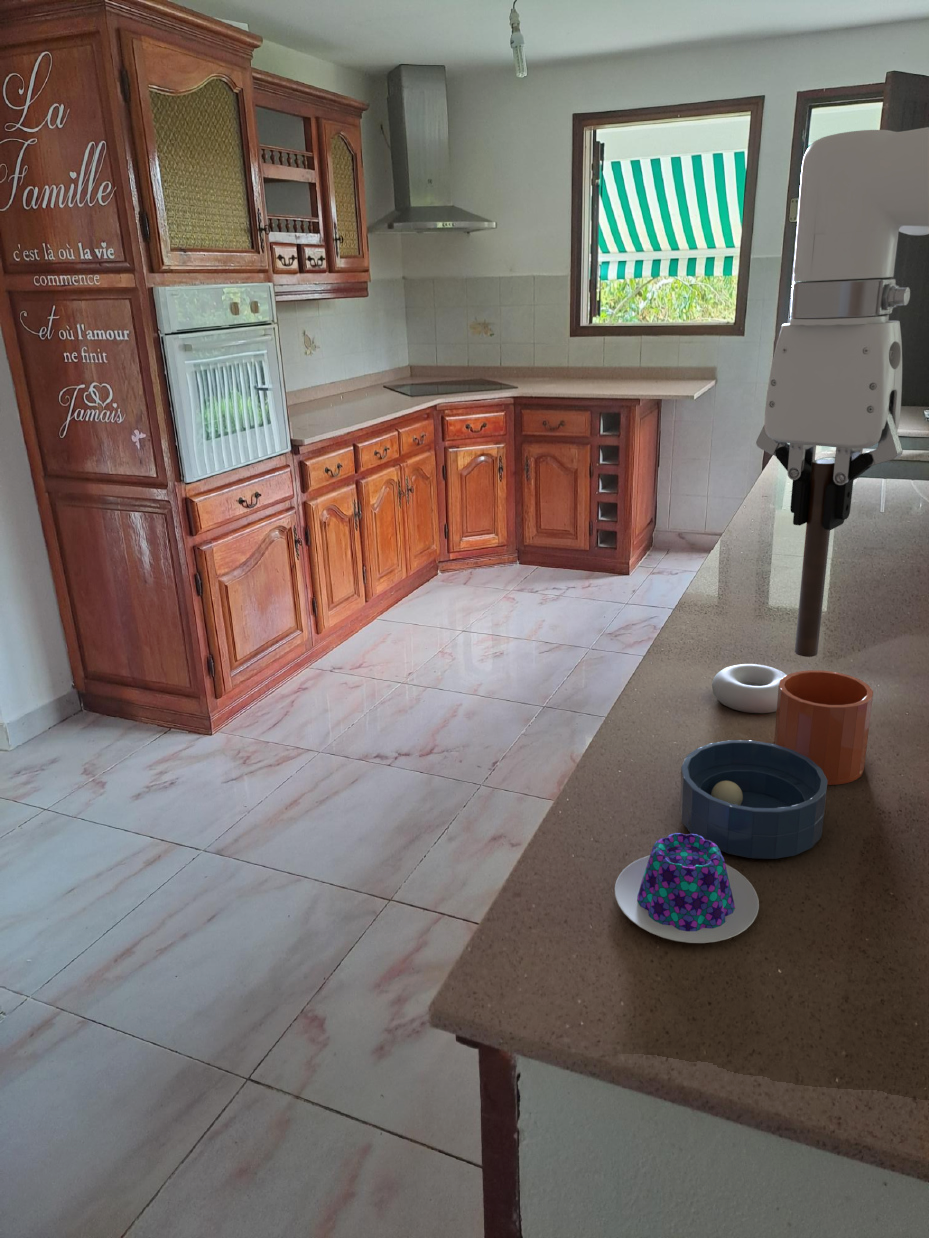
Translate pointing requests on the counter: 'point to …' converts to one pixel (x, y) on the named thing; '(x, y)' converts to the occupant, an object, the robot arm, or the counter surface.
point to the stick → (814, 562)
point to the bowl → (754, 798)
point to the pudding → (686, 892)
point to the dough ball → (728, 792)
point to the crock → (825, 721)
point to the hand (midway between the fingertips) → (818, 522)
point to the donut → (748, 687)
